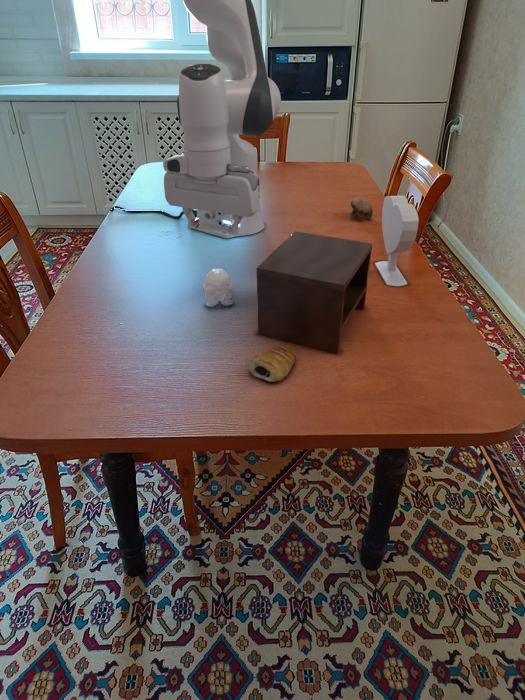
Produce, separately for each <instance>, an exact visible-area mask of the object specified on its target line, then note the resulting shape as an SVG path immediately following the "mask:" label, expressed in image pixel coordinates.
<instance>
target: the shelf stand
mask: <svg viewBox="0 0 525 700" xmlns="http://www.w3.org/2000/svg"><path fill="white" fill-rule="evenodd" d="M372 249H373V243H370V242H365V241H358V240H354V239H353V240H352V239H345V238H340V237H333V236H328V235H321V234H315V233H310V232H309V233H308V232H304V231H297V230H294V231H293V232H292V233H291V234H290V235H289V236H288V237H287V238H286V239H285V240H284V241H283V242H282V243H281V244H280V245H279V246H277V248H276V249H274V251H273V252H272V253H270V254H269V255H268V256H267V257H266V258H265V259H264V260H263V261H262V262H261V263H260V264H259V265H257V267H256V292H257V293H256V298H257V334H258V335H260V336H264V337H268V338H272V339H275V340H276V339H277V340H280V341H284V342H287V343H292V344H296V345H301V346H303V347H308V348H311V349H317V350H320V351H324V352H328V353H332V354H336V355H338V354H339V353H340V349H341V340H342V332H343V330H344V328H345V327H346V325H347V323H348V321H349V320H350V318H351V316H352V315H353V313H354V312H355V310H356V309H359V310H364V309H365V306H366V299H367V298H366V297H367V290H368V284H369V283H368V282H369V275H370V266H371V257H372Z"/></svg>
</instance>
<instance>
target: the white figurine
mask: <svg viewBox="0 0 525 700" xmlns="http://www.w3.org/2000/svg"><path fill="white" fill-rule="evenodd" d="M233 287H234V286H233V281H232V277H231V276H230V274H228V273H227V272H226V271H225V270H224V269H222V268H212V269H211V270H210V271H209V272H208V273H207V274H206V275H205V277H204V280H203V290H204V298H205V300H208V301H206V303H205V305H206V306H207V307H210V308H211V307H212V308H214V307H215V306H217V305H218V304H219V302H220V303H221V304H222V305H223V306H231V305H233V303H234V301H233V300H231V299H230V298H233V297H234V296H233Z"/></svg>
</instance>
